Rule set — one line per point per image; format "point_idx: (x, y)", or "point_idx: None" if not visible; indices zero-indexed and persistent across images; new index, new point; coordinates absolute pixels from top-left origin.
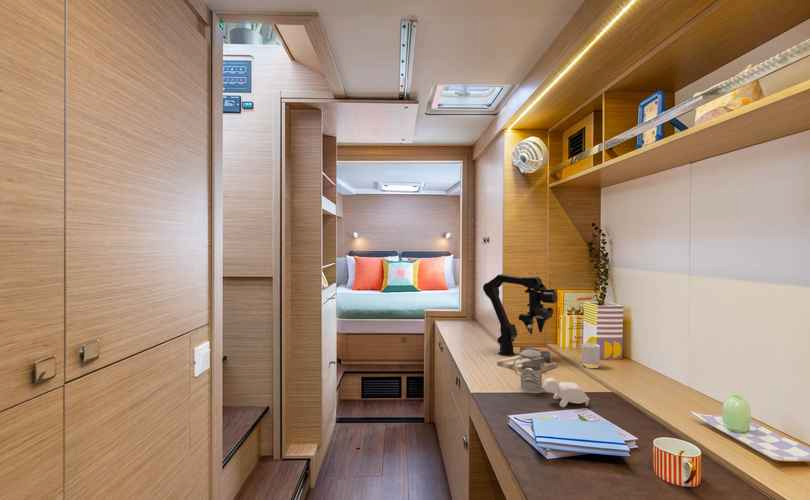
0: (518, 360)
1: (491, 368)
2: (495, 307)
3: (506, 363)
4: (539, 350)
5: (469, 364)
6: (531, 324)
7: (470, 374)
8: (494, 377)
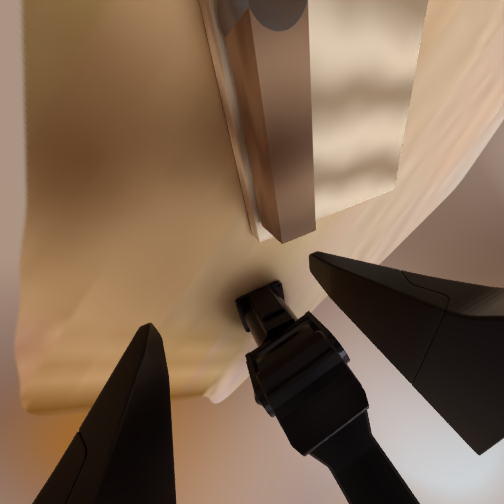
0: (340, 152)
1: (419, 153)
2: None
3: (403, 133)
4: (277, 90)
5: (417, 223)
6: (475, 298)
7: (493, 122)
8: (500, 33)
